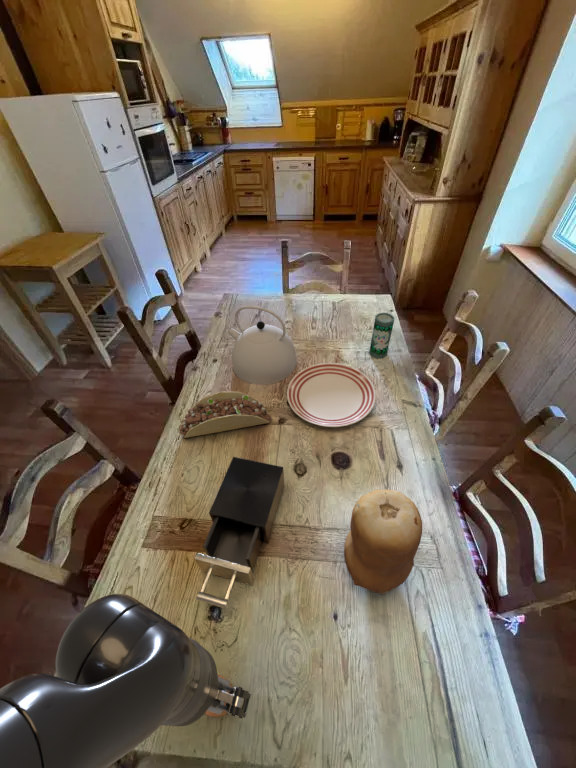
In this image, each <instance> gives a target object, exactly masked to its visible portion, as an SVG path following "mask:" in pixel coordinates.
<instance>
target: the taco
mask: <svg viewBox="0 0 576 768" xmlns="http://www.w3.org/2000/svg"><path fill="white" fill-rule="evenodd" d="M271 421H272V415H271V414H269V413H268V410H267V408H266V406H265V405H264V404H263V403H262V401H260V400H258V399H257V398H256V397H255V396H252V395H250V394H247V393H244V392H241V391H218V392H216V393H213V394H210V395H206V396H204V397H203V398H201V399H200V400H199V401H198V402H197V403H195V404H194V405H193V406H192V407H191V408H189V409H187V413H186V414H185V415H184V419H183V420H180V423H181V424H180V425H179V426H178V430H179V431H178V432H179V437H180V438H182V437H183V438H184V439H187V438H191V437H199V436H203V435H208V434H214V433H220V432H226V431H231V430H237V429H241V428H247V427H253V426H257V425H259V426H260V425H264V424H269V423H270V422H271Z"/></svg>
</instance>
